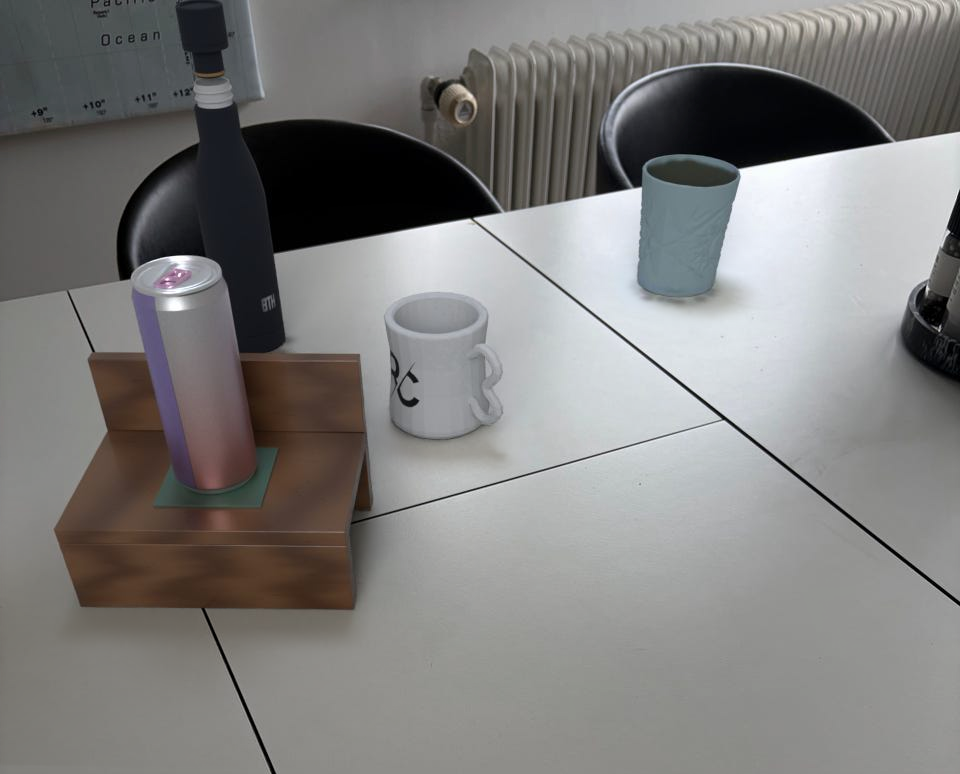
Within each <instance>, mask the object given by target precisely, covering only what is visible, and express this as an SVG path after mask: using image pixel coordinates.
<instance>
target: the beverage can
mask: <svg viewBox="0 0 960 774" xmlns="http://www.w3.org/2000/svg"><path fill="white" fill-rule="evenodd" d="M130 284H131V285H132V286H131V287H132V288H131V296H130V297H131V300H132V301H131V302H132V305H133V309H134V313H135V317H136V321H137V325H138V329H139V333H140V337H141V342H142V347H143V350H144V352H145V355H146V359H147V363H148V367H149V371H150V376H151V380H152V384H153V388H154V392H155V396H156V400H157V405H158V409H159V413H160V417H161V421H162V425H163V429H164V434H165V438H166V442H167V446H168V450H169V454H170V459H171V463H172V467H173V471H174V475H175V477H176V478H177V480H178V481H179V482H180V483H181V484H182V485H184V486H185V487H186V488H188V489H189V490H191V491H194V492H197V493H201V494H221V493H226V492H230V491H233V490H235V489H238V488H240V487H242V486H243V485H245V484H246V483H247V482H248V481H249V480H250V479H251V478H252V476H253V475H254V473H255V470H256V468H257V465H258V459H257V453H256V447H255V442H254V436H253V430H252V425H251V419H250V413H249V407H248V402H247V396H246V390H245V384H244V379H243V373H242V367H241V362H240V356H239V350H238V344H237V339H236V333H235V327H234V322H233V316H232V310H231V304H230V299H229V293H228V287H227V283H226V281H225V280H224V278H223V276H222V270H221V267H220V266H219V265H218V263H216V262H215V261H213V260H211V259H208V258H206V257H204V256H199V255H190V254H189V255H187V254H185V255H172V256H164V257H160V258H157V259H153V260H150V261H147V262H145V263H143V264H141V265H140V266H138V267H137V268H136V269H134V270H133V272H131V276H130Z"/></svg>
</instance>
